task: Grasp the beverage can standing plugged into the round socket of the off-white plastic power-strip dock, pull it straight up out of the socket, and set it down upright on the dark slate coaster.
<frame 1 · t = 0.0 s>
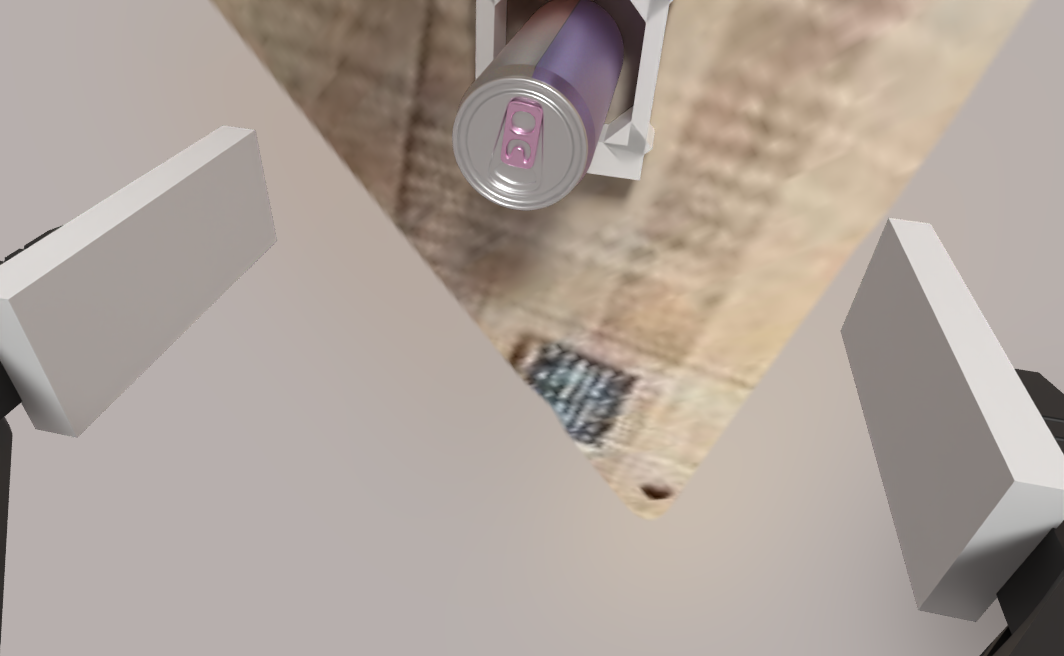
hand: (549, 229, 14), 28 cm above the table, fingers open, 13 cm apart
beverage can: (573, 49, 39), resting in strip dock
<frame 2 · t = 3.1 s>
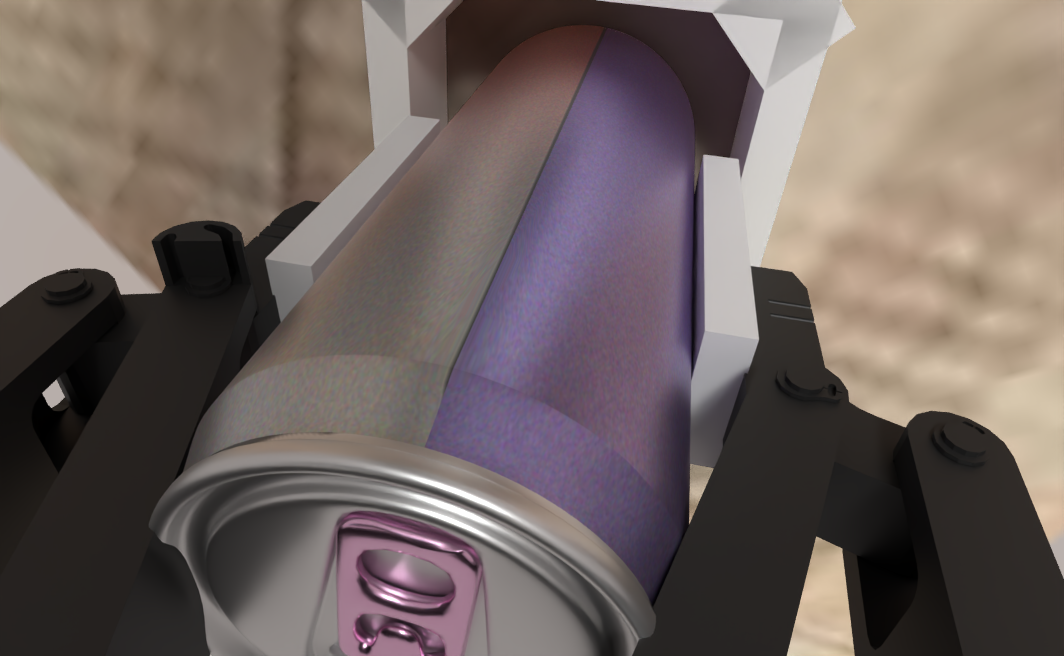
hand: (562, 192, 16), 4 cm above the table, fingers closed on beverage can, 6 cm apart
beverage can: (586, 130, 19), resting in strip dock, touching gripper
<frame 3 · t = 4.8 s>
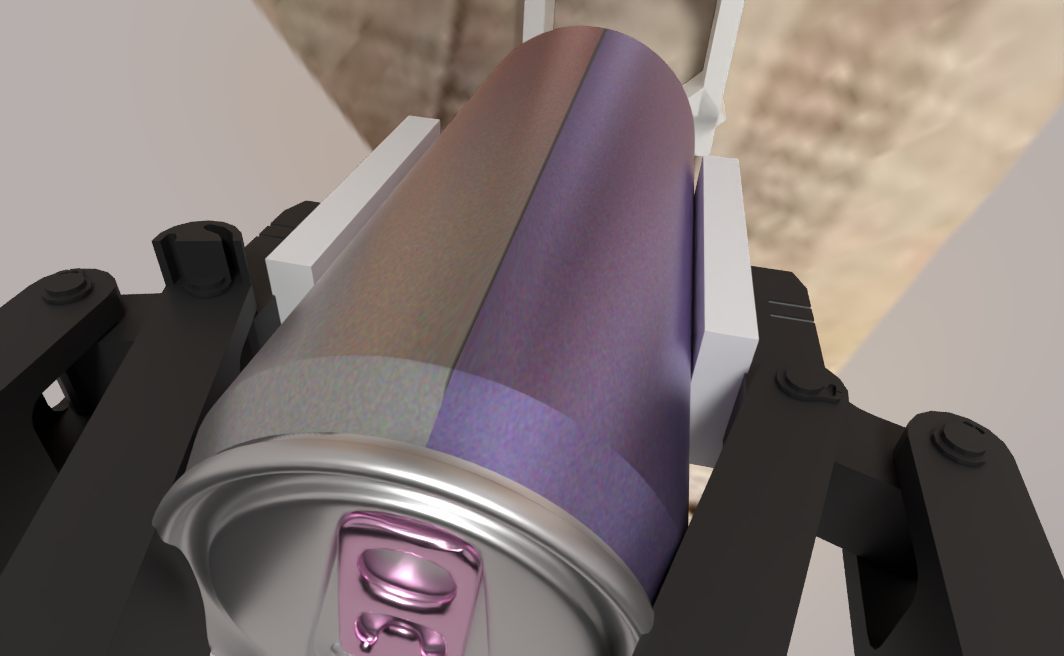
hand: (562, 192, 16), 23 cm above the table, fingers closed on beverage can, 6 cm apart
beverage can: (586, 131, 19), point 19 cm above the table, touching gripper
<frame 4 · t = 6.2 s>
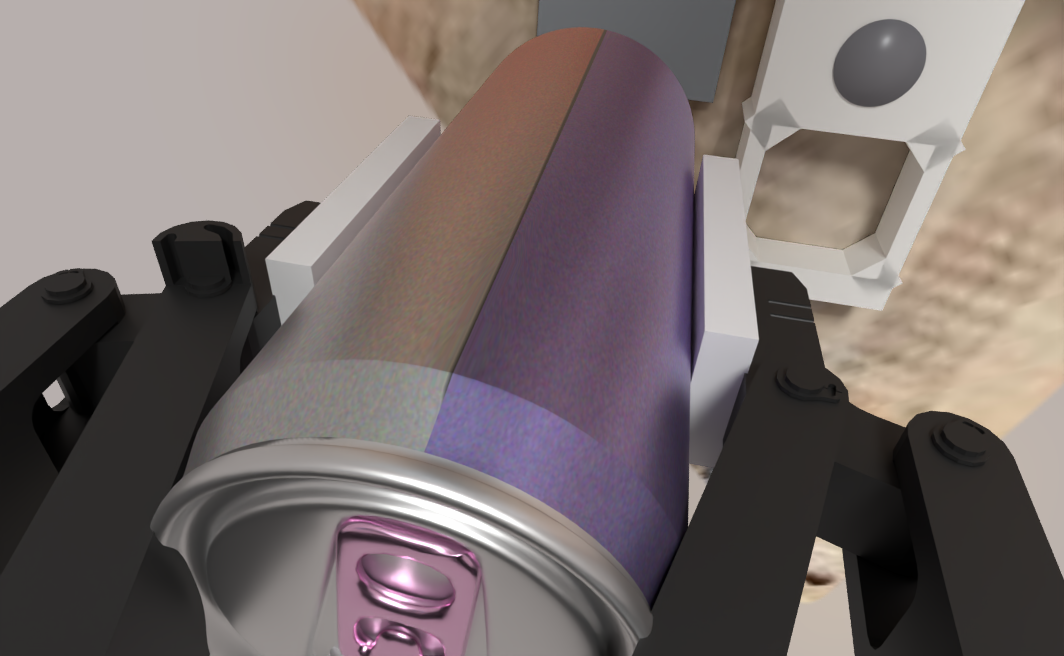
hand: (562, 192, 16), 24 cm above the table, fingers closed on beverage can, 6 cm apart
beverage can: (586, 132, 19), point 20 cm above the table, touching gripper
strip dock: (849, 96, 36), on the table
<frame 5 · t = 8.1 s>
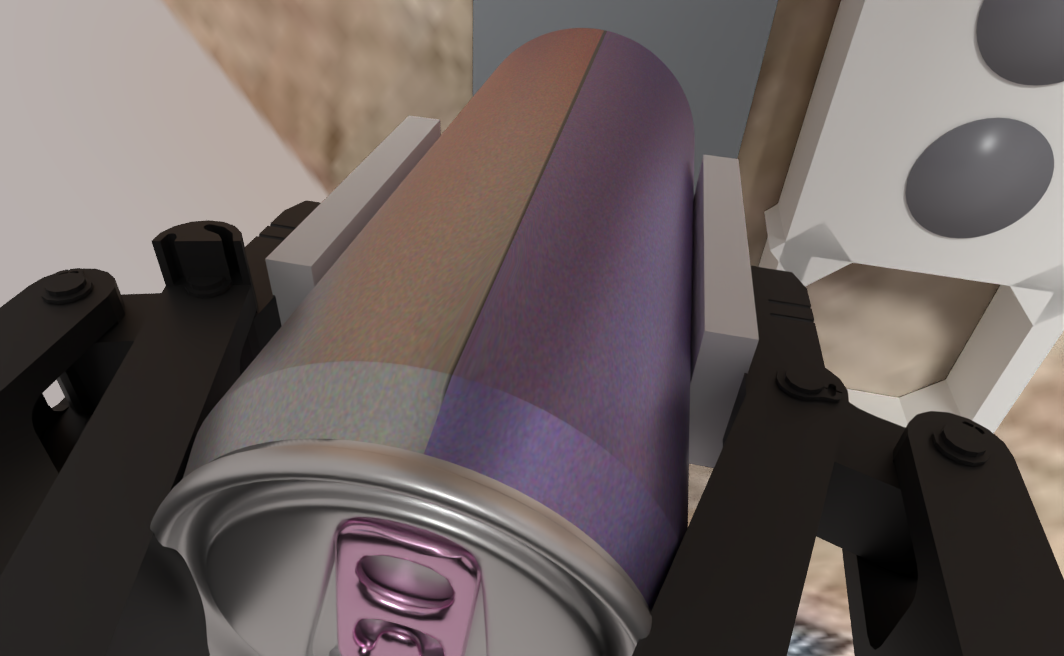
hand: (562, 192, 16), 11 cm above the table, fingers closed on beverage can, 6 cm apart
beverage can: (586, 132, 19), point 7 cm above the table, touching gripper
coaster: (613, 59, 24), on the table
strip dock: (920, 208, 25), on the table
when the fingers open (6 cm above the table, at t = 9.7 s): beverage can drops 1 cm, resting on coaster.
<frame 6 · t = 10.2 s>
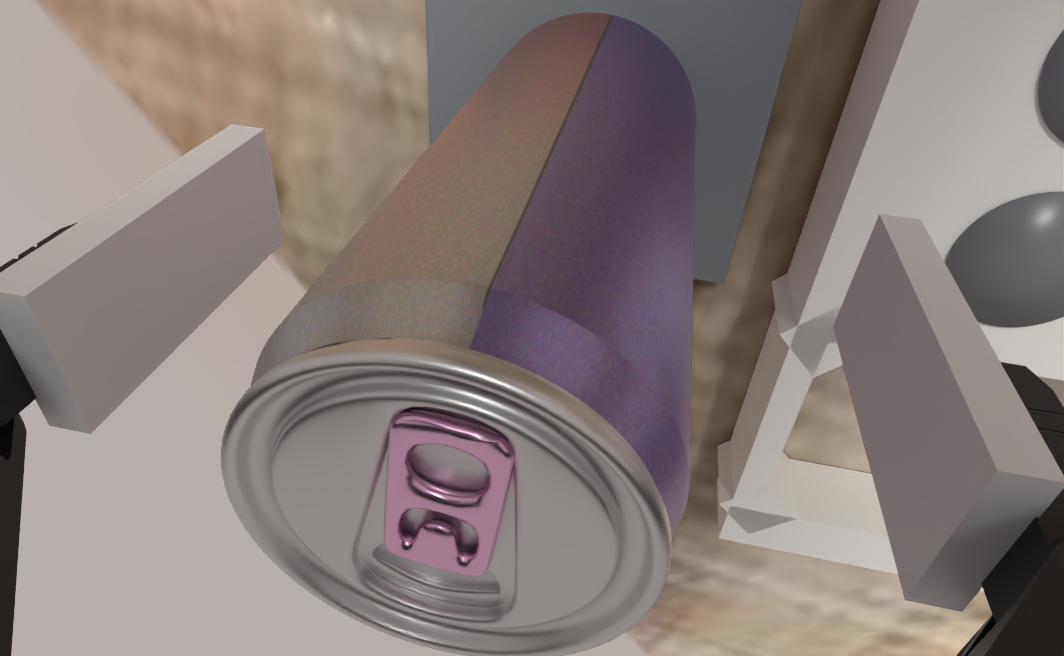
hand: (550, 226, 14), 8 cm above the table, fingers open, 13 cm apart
beverage can: (593, 113, 20), resting on coaster
coaster: (593, 109, 20), on the table
strip dock: (954, 281, 21), on the table
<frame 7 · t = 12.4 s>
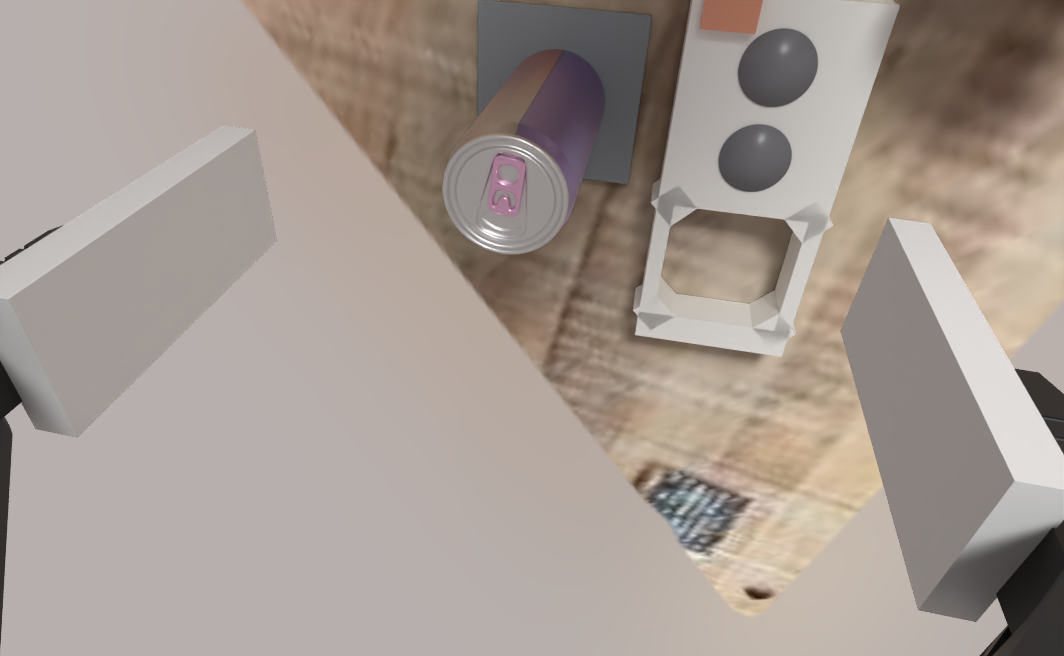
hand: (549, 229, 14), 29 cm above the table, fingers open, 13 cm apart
beverage can: (558, 96, 42), resting on coaster
coaster: (558, 95, 42), on the table
strip dock: (741, 179, 43), on the table
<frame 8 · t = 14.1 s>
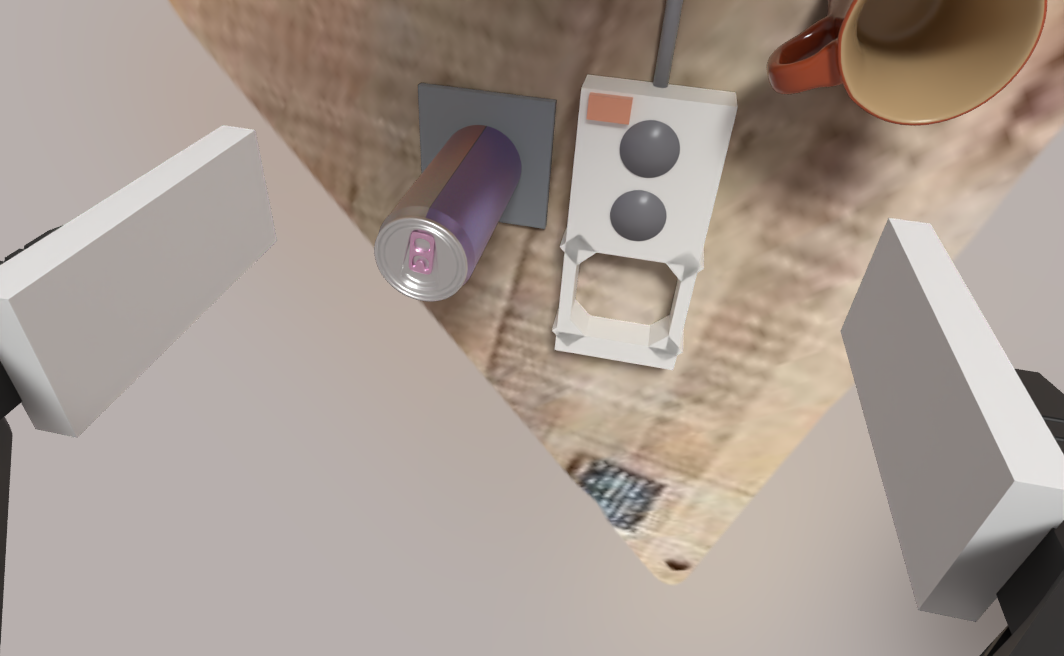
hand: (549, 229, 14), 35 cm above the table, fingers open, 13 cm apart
beverage can: (485, 159, 51), resting on coaster
coaster: (486, 157, 51), on the table
strip dock: (635, 227, 52), on the table
mug: (860, 3, 41), on the table
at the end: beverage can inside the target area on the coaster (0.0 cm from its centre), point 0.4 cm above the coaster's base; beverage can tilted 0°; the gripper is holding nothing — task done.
